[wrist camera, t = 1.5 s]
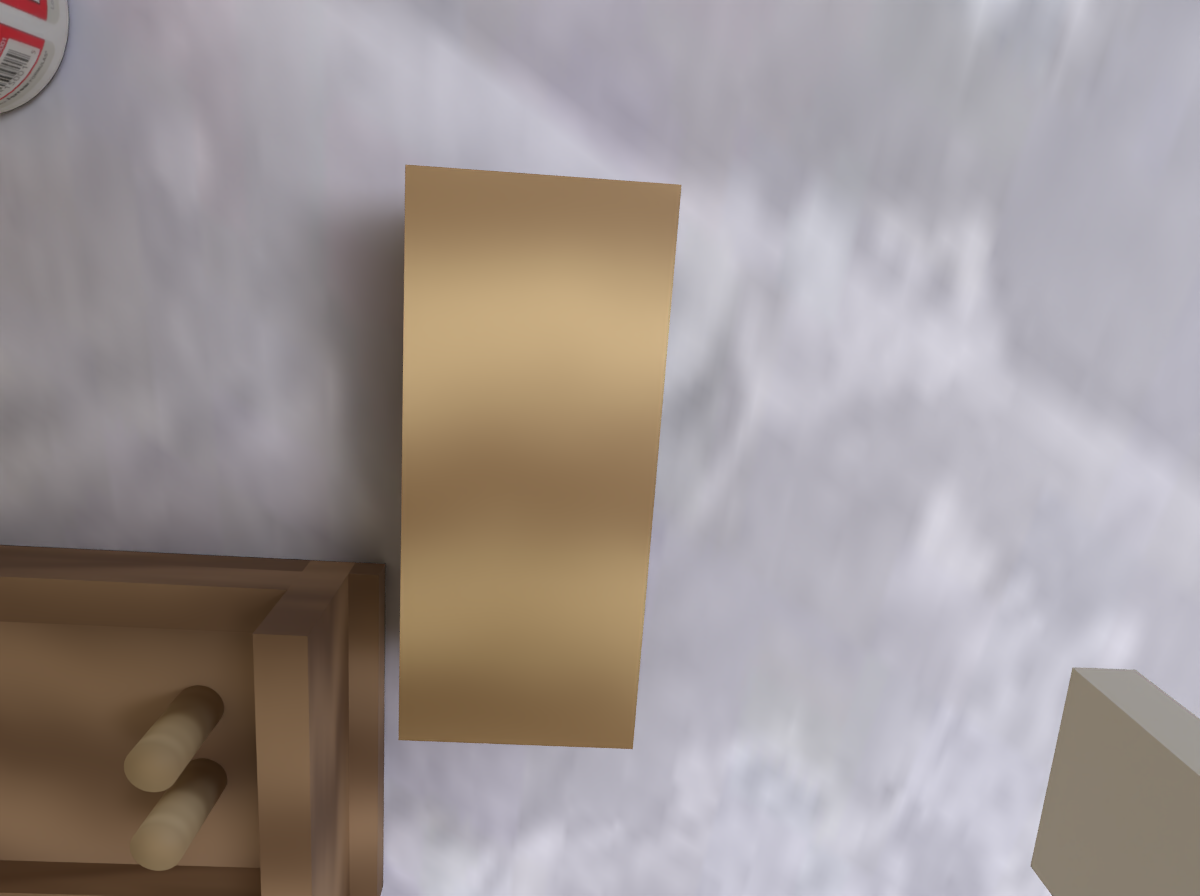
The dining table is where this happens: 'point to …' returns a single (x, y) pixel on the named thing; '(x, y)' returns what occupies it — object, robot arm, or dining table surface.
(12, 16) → the pill bottle
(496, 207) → the plank
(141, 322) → the dining table surface
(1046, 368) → the dining table surface
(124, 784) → the peg frame
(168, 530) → the dining table surface
